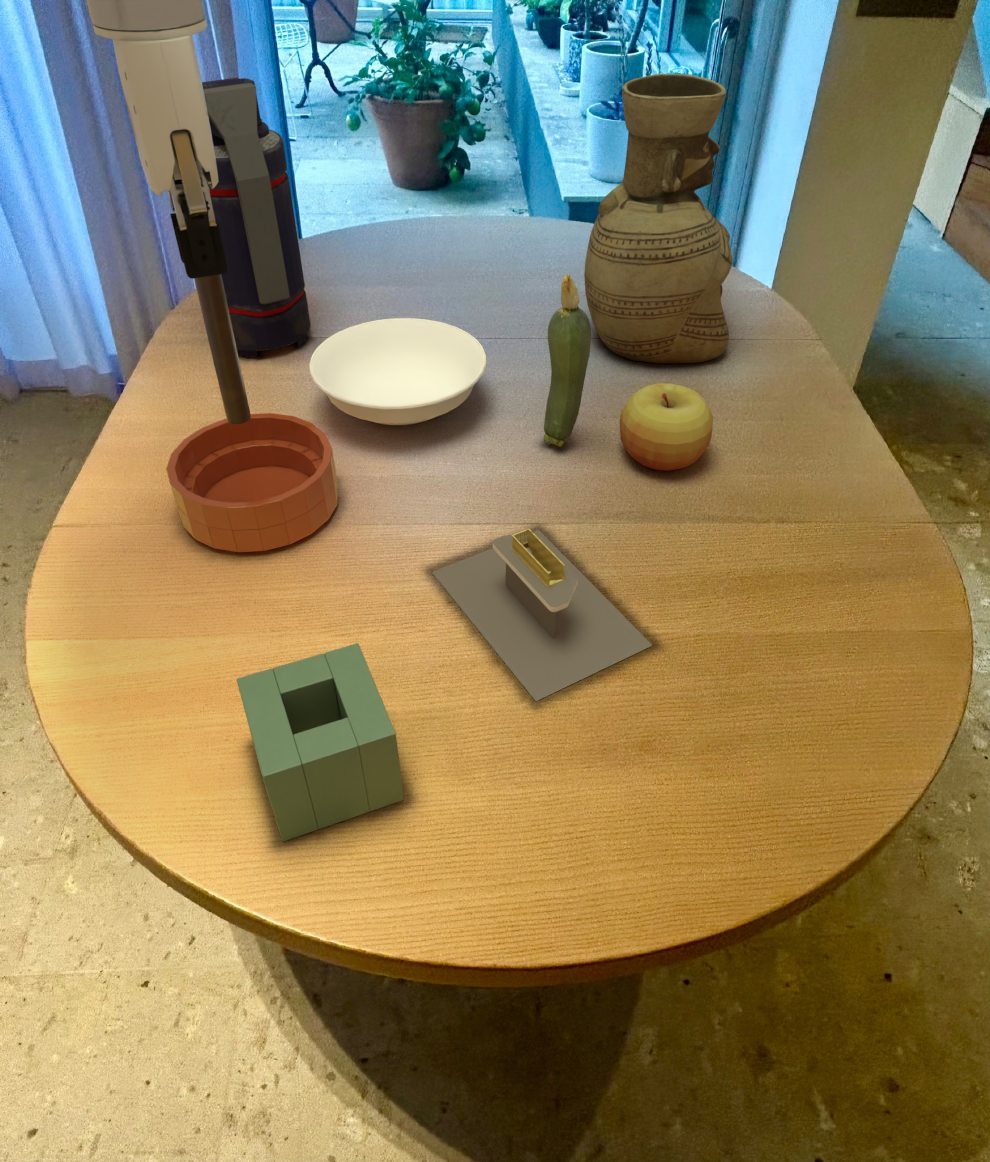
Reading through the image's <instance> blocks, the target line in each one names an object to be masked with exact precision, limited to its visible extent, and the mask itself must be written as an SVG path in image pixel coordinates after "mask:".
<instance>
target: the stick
mask: <svg viewBox="0 0 990 1162" xmlns="http://www.w3.org/2000/svg"><path fill="white" fill-rule="evenodd" d="M180 199H181V204H182V200H186V199H185V196H184V197H180ZM193 281H194V284H195V288H196V292H197V296H198V302H199V305H200V310H201V314H202V319H203V323H204V327H205V331H206V336H207V341H208V344H209V348H210V353H211V358H212V361H213V366H214V371H215V374H216V378H217V383H218V387H219V392H220V396H221V399H222V401H221V402H222V404H223V409H224V413H225V417H226V418H225V419H227V421H228V422H229V423H231V424H242V423H245V422H247V421H249V420H250V418H251V414H252V413H251V410H250V405H249V401H248V396H247V390H246V385H245V381H244V375H243V371H242V366H241V361H240V358H239V351H238V349H237V347H236V342H235V338H234V333H233V328H232V323H231V319H230V314H229V309H228V304H227V299H226V295H225V290H224V285H223V280H222V276H221V274H219V275H213V276H206V277H200V278H193Z"/></svg>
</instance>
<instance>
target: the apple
mask: <svg viewBox="0 0 990 1162" xmlns="http://www.w3.org/2000/svg"><path fill="white" fill-rule="evenodd" d="M707 403H708V402H707V401H706V399H704V398H703V396H701V394H699V393H698V392H697V391H695V390H694V389H692V388H690V387H687V386H684V385H681V384H676V383H670V382H668V383H667V382H666V383H665V382H664V383H653V384H649V385H646V386H644V387H642V388H640V389H639V390H637V391H636V392H634V393H633V394H632V395H631V396H630V397H629V398H628V400H627V401H626V403H625V404H624V407H623V408H622V409H621V412H620V417H619V436H620V441H621V443H622V444H623V447H624V448H625V450H626V451H627V452H628V454H629V455H630V457H631V458H632V459H633V460H634V461H636V462H638V463H639V464H641V465H643V466H644V467H646V468H649V469H653V470H656V471H675V470H681V469H684V468H686V467H688V466H691V465H692V464H694V463H696V462H697V461H698V460H699V458H701V456H702V455H703V454H704V453H705V451H706V450H707V449H708V448H709V447H710V443H711V441H712V437H713V426H714V417H713V413H712V411H711V409H710V406H709V405H708V404H707Z"/></svg>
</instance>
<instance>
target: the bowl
mask: <svg viewBox="0 0 990 1162" xmlns="http://www.w3.org/2000/svg"><path fill="white" fill-rule="evenodd" d="M487 365H488V364H487V354H486V352H485V350H484V347H483V345H482V344H481V343H480V342H479V341H478V339H477V338H476V337H474V336H473V335H471V334H470V333H469V332H467V331H465V330H463V329H461V328H459V327H457V326H454V325H451V324H449V323H445V322H442V321H437V320H432V319H425V318H413V317H394V318H393V317H391V318H384V319H377V320H371V321H365V322H362V323H359V324H358V323H357V324H356V325H352V326H349V327H346V328H344V329H342V330H340V331H338V332H335V333H334V334H332V335H331V336H329V337H327V338H325V340H324V341H322V342H321V343H320V344H318V346H317V347H316V349H315V350H314V352H313V353H312V355H311V357H310V361H309V365H308V368H309V376H310V377H311V380H312V381H313V383H314V384H315V385H316V386H317V387H318V389H320V391H322V392H324V393H325V394H326V395H327V397H328V399H329V401H330V402H331V403H332V404H333V405H334V406H335V407H336V408H337V409H339V410H340V411H342V412H343V413H345V414H347V415H349V416H351V417H354V418H357V419H359V420H364V421H368V422H372V423H376V424H381V425H387V426H388V425H389V426H407V425H415V424H419V423H423V422H427V421H429V420H432V419H435V418H437V417H440V416H442V415H445V414H447V413H449V412H451V411H452V410H454V409H456V408H458V407H459V406H460V405H461V404H462V403H464V402H465V401H466V400H467V399H468V398H469V396H470V395H471V393H472V391H473V388H474V386H475V384H476V383H478V381H479V380H480V379H481V378H482V376H483V375H484V373H485V370H486V368H487Z"/></svg>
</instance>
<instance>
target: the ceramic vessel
mask: <svg viewBox="0 0 990 1162" xmlns="http://www.w3.org/2000/svg"><path fill="white" fill-rule="evenodd" d="M621 89H622V90H621V100H622V109H623V116H624V125H625V128H626V130H627V133H628V134H627V145H626V152H625V153H626V154H625V161H624V170H623V178H622V181H621V183H620V184H618V185H617V186H615V187H614V188H613V189H612V190H611V191H609V192H608V193H607V194H606V195H605V196H604V197H603V198H602V199H601V201H600V203H599V206H598V215H597V217H596V219H595V221H594V223H593V226H592V228H591V230H590V231H591V232H590V235H589V239H588V244H587V250H586V256H585V262H584V273H583V275H584V290H585V299H586V302H587V308H588V311H589V314H590V317H591V318H590V319H591V321H592V324H593V327H594V329H595V331H596V333H597V335H598V337H599V338H600V340H601V341H602V343H603V344H604V345H605V346H606V347H607V348H608V350H610V351H611V352H613V353H615V354H617V355H618V356H620V357H623V358H626V359H628V360H631V361H636V362H643V363H644V362H645V363H653V364H698V363H704V362H707V361H711V360H715V359H717V358H718V357H720V356H721V355H722V354H724V352H725V351H726V349H727V347H728V344H729V337H730V333H729V327H728V322H727V319H726V316H725V313H724V309H723V305H722V295H723V283H724V282H725V281H726V279H727V277H728V276H729V274H730V272H731V269H732V265H733V252H732V248H731V244H730V239H731V236H730V235H731V234H730V233H729V230H728V229H727V227H726V226H725V225H724V224H723V223H722V222H721V221H720V220H718V219H717V218H716V217H715V216H713V215H712V213H711V212H710V211H709V209H708V208H707V207H706V206H705V204H704V201H703V200H702V199H701V197H700V196H699V195H698V194H697V193H696V191H697V190H699V189H702V188H704V187H706V186H709V185H711V184H712V182H713V171H714V168H715V167H716V163H715V158H714V157H715V156H716V155H717V154H719V153H720V151H721V147H720V145H719V144H718V142H716V141H715V140H714V139H712V138H711V137H710V136H709V134H710V132H711V131H712V129H713V127H714V125H715V123H717V119H718V117H719V115H720V112H721V110H722V107H723V104H724V102H725V100H726V96H727V90H726V88H725V86H724V85H723V84H721V83H718V82H716V81H714V80H712V79H710V78H707V77H702V76H697V75H693V74H689V73H656V74H650V75H646V76H641V77H637V78H633V79H631V80H628V81H626V82H625V83H624V84H623V86H622V88H621Z"/></svg>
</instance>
